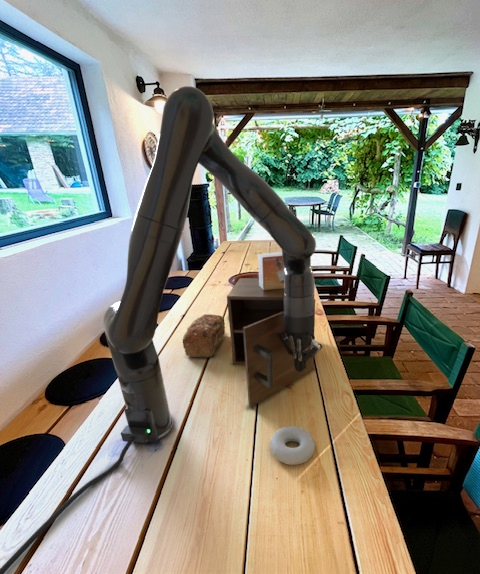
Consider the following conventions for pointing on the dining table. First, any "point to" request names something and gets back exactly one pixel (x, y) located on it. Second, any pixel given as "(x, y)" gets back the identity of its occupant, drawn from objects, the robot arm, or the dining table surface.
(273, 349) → the cupboard door
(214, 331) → the bread
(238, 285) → the cupboard
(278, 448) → the donut
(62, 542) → the dining table surface
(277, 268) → the small box
